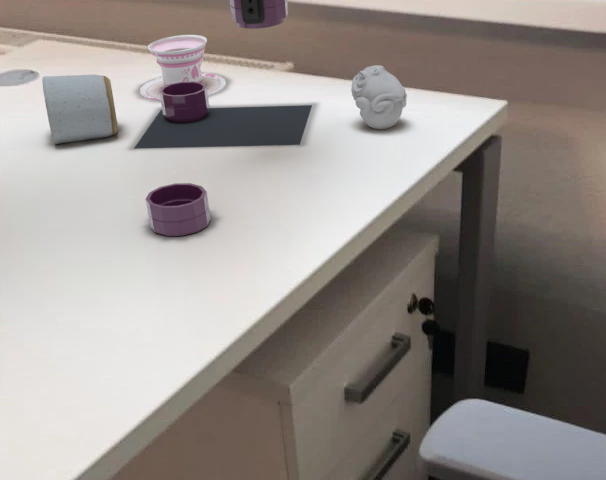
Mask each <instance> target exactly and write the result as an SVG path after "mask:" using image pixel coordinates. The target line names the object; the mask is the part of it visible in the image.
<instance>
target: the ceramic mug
mask: <svg viewBox="0 0 606 480" xmlns="http://www.w3.org/2000/svg"><path fill="white" fill-rule="evenodd" d="M42 92H43V97H44V103H45V109H46V114H47V118H48V124H49V130H50V134H51V139H52V141H53V144H54V145H59V144H61V145H62V144H66V143H67V144H68V143H75V142H83V141H89V140H97V139H104V138H107V137H112V136H115V135H116V134H117V133H118V131H119V127H118V120H117V119H118V118H117V114H116V113H117V112H116V106H115V101H114V100H115V99H114V95H113V88H112V83H111V79H110V78H109V77H108V76H107V75H102V74H96V73H95V74H79V75H77V74H75V75H49V76H48V75H46V76H42Z"/></svg>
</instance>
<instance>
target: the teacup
mask: <svg viewBox="0 0 606 480" xmlns="http://www.w3.org/2000/svg"><path fill="white" fill-rule="evenodd" d="M207 43H208V39H207V37H206V36H204V35H200V34H198V35H197V34H180V35H179V34H178V35H173V36H172V35H171V36H167V37H163V38H160V39H157V40H154V41H152V42H151V43H149V44H148V45H147V50H148V51H149V53H150V54H151V55H152V56H153V57H154V58H156V63H157V64H158V66H159V67H160V70H161V77H157V78H154V79H152V80H150V81H148V82H146V83H144V84H143V85H142V86H141V87H140V89H139V94H140V95H141V96H142V97H143V98H145V99H147V100H150V101H154V102H161V99H160V98H159V97H157V98H156V97H153V96H150V95H149V94H148V93H147V90H148V89H149V88H150V87H151V86H153V85H155V84H157V83H159V82H163V84H164V85H165V86H167V85H170V84H173V83H179V82H193V81H194V82H200V83H201V81H202V79H203V78H209V79H213V80H216V81H217V82H218V83H219V86H218V87H217V89H215V90H212V91H211V92H208V97H209V96H213V95H216V94H217V93H219V92H221V91H222V90H224V88H226V86H227V82H226V79H225V78H224V77H222V76H220V75H217V74H214V73H208V72H202V69H201V67H202V64H203V60H204V57H205V50H206V47H207Z"/></svg>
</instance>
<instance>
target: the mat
mask: <svg viewBox="0 0 606 480" xmlns="http://www.w3.org/2000/svg"><path fill="white" fill-rule="evenodd" d="M209 108H210V110H209V111H208V113H207V115H206V116H205V117H204V118H202V119H200V120H197V121H194V122H187V123H176V122H171V121H169V120H168V119H167V118H166V117H165V116H164V115H163V111H162V108H161V109H160V110H159V112H158V113H157V114H156V116H155V117H154V119H153V120H152V122H151V123H150V124H149V126H148V128H147V129H145V132H144V133H143V135H142V136H141V137H140V139H139V140H138V142H137V143H136V144H135V146H134V147H133V150H134V149H135V150H137V149H176V148H178V149H179V148H181V149H182V148H183V149H184V148H219V147H220V148H221V147H222V148H223V147H224V148H225V147H226V148H227V147H229V148H230V147H263V146H264V147H265V146H266V147H267V146H268V147H269V146H270V147H271V146H300V145H301V142H302V139H303V136H304V133H305V129H306V126H307V123H308V120H309V117H310V114H311V110H312V108H313V104H304V105H299V104H298V105H269V106H267V105H266V106H235V107H233V106H231V107H230V106H229V107H209Z"/></svg>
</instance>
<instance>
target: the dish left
mask: <svg viewBox="0 0 606 480" xmlns="http://www.w3.org/2000/svg"><path fill="white" fill-rule="evenodd" d="M158 92H159V99H161V101H160V104H161V109H162V111H163V115H164V116H165V117H166V118H167V119H168V120H169V121H171V122H176V123H187V122H194V121H197V120H200V119H202V118H204V117H205V116H206V115H207V113H208V111H209V110H210V108H211V107H210V101H209V100H210V99H209V96H208V93H209V91H208V86H207V85H206V84H205V83H203V82H201V81H200V82H194V81H193V82H179V83H173V84H170V85H165V86H162V87H161V88H160V90H159V91H158Z"/></svg>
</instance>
